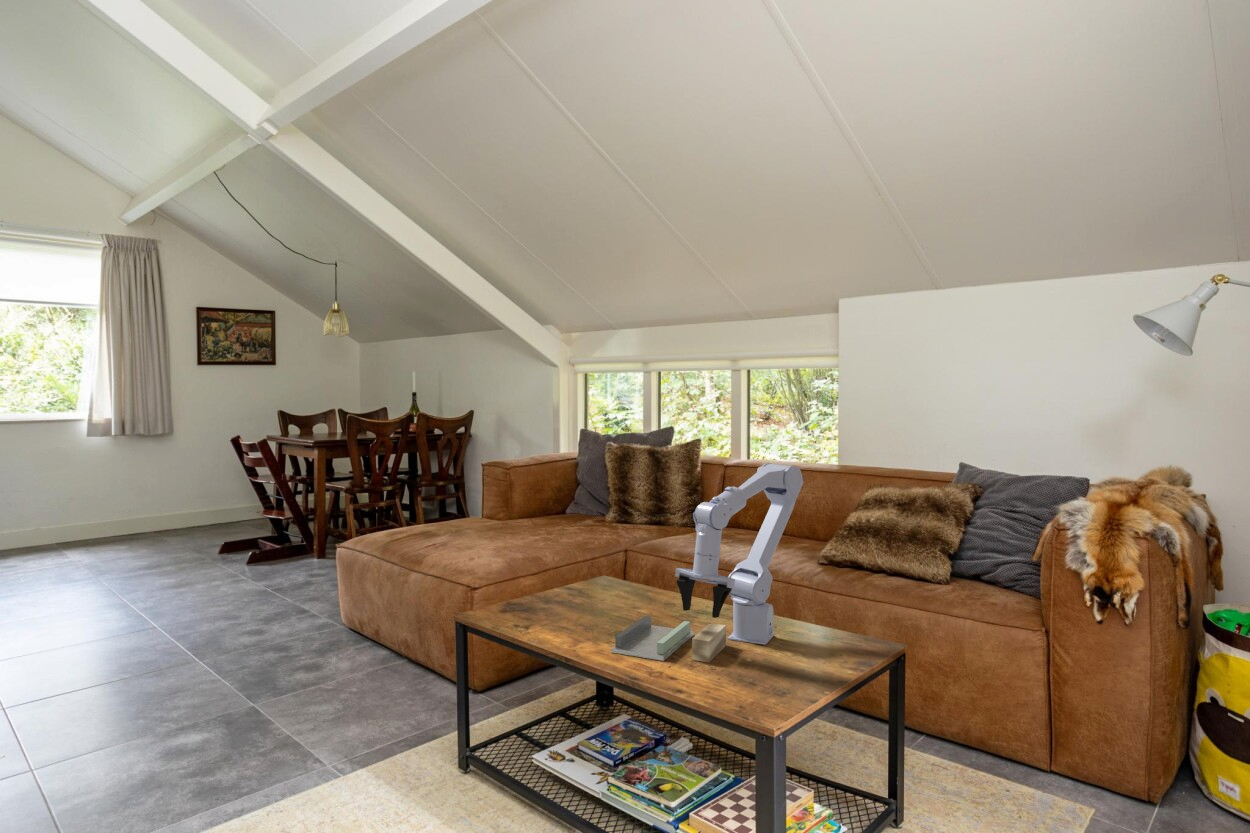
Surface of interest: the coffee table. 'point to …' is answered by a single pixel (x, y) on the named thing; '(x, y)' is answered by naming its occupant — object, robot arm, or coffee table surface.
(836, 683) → the coffee table surface
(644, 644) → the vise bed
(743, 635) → the robot arm
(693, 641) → the wood bar
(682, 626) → the bar
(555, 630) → the coffee table surface
